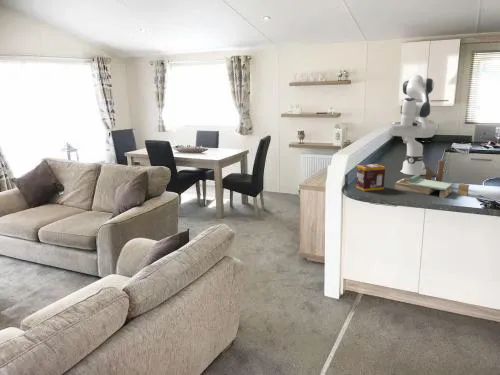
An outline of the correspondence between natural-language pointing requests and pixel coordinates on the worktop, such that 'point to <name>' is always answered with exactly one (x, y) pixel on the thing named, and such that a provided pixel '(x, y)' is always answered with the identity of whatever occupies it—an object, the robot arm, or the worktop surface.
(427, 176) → the brown wooden bracket
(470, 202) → the worktop surface
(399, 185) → the tan piece
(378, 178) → the supplement box
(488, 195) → the worktop surface
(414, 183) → the lid
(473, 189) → the worktop surface
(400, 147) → the worktop surface
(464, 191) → the brown wood block
